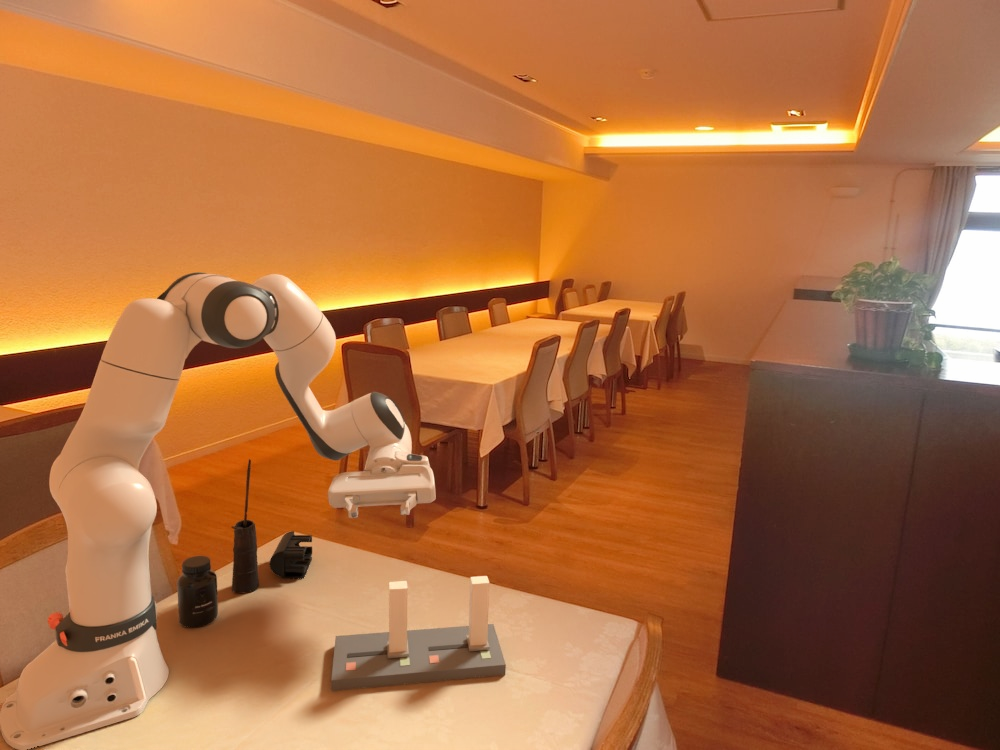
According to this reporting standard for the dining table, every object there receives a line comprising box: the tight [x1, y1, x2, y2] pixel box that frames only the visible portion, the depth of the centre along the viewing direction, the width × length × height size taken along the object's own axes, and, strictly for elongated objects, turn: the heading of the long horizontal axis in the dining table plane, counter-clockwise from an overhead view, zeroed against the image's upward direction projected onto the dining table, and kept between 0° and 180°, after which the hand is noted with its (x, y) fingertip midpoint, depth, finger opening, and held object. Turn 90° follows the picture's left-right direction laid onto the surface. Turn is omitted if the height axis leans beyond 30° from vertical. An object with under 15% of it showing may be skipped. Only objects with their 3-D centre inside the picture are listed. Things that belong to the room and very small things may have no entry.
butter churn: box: [231, 459, 259, 594], centre depth 130 cm, size 9×10×28 cm
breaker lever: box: [466, 575, 490, 651], centre depth 114 cm, size 4×4×12 cm
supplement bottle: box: [176, 555, 219, 629], centre depth 122 cm, size 7×7×12 cm
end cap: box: [269, 530, 313, 580], centre depth 142 cm, size 10×7×7 cm
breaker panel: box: [330, 623, 507, 692], centre depth 113 cm, size 29×12×2 cm, turn 101°
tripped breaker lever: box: [387, 580, 409, 658], centre depth 111 cm, size 4×4×12 cm
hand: (378, 513), depth 116 cm, fingers open, 8 cm apart
